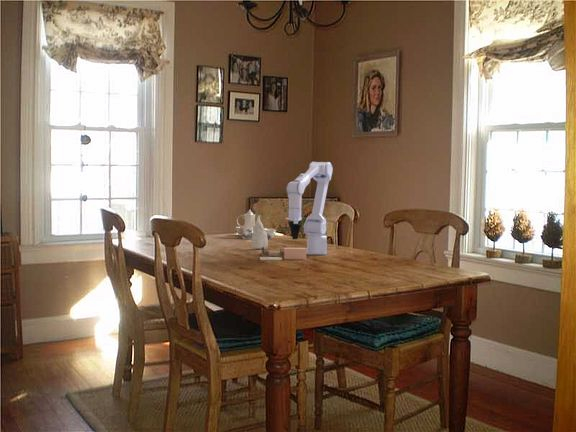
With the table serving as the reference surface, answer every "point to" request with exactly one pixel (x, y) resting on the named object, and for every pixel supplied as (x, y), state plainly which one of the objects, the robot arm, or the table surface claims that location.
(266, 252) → the rack
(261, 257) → the fired strip
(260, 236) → the stone tool
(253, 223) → the chinaware
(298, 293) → the table surface
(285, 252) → the salmon pink block
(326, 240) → the robot arm
